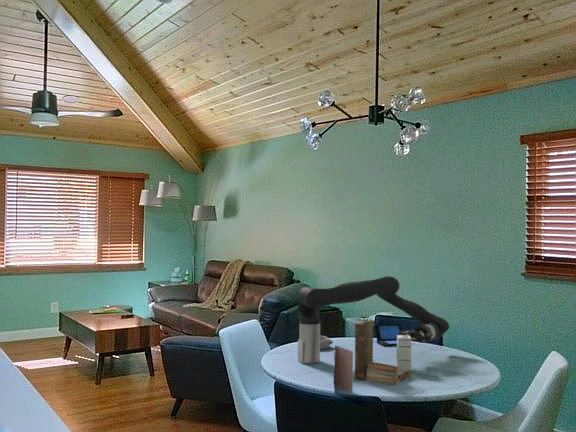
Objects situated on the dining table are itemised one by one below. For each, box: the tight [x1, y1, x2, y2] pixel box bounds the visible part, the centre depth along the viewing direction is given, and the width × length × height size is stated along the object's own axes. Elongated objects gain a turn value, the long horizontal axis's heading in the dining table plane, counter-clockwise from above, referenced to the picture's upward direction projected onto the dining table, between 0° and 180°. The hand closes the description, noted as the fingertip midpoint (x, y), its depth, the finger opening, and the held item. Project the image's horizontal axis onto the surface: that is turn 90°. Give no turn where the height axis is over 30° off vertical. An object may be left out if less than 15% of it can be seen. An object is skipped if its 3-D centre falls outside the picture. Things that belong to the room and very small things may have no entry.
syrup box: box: [396, 335, 412, 372], centre depth 230 cm, size 6×6×14 cm
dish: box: [320, 335, 334, 350], centre depth 272 cm, size 14×14×5 cm
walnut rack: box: [354, 319, 412, 383], centre depth 218 cm, size 18×16×22 cm
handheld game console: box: [373, 323, 403, 348], centre depth 283 cm, size 16×13×9 cm
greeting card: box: [332, 345, 354, 394], centre depth 202 cm, size 11×7×15 cm, turn 175°
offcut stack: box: [365, 361, 400, 386], centre depth 214 cm, size 6×12×6 cm, turn 53°
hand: (408, 337), depth 235 cm, fingers open, 8 cm apart
